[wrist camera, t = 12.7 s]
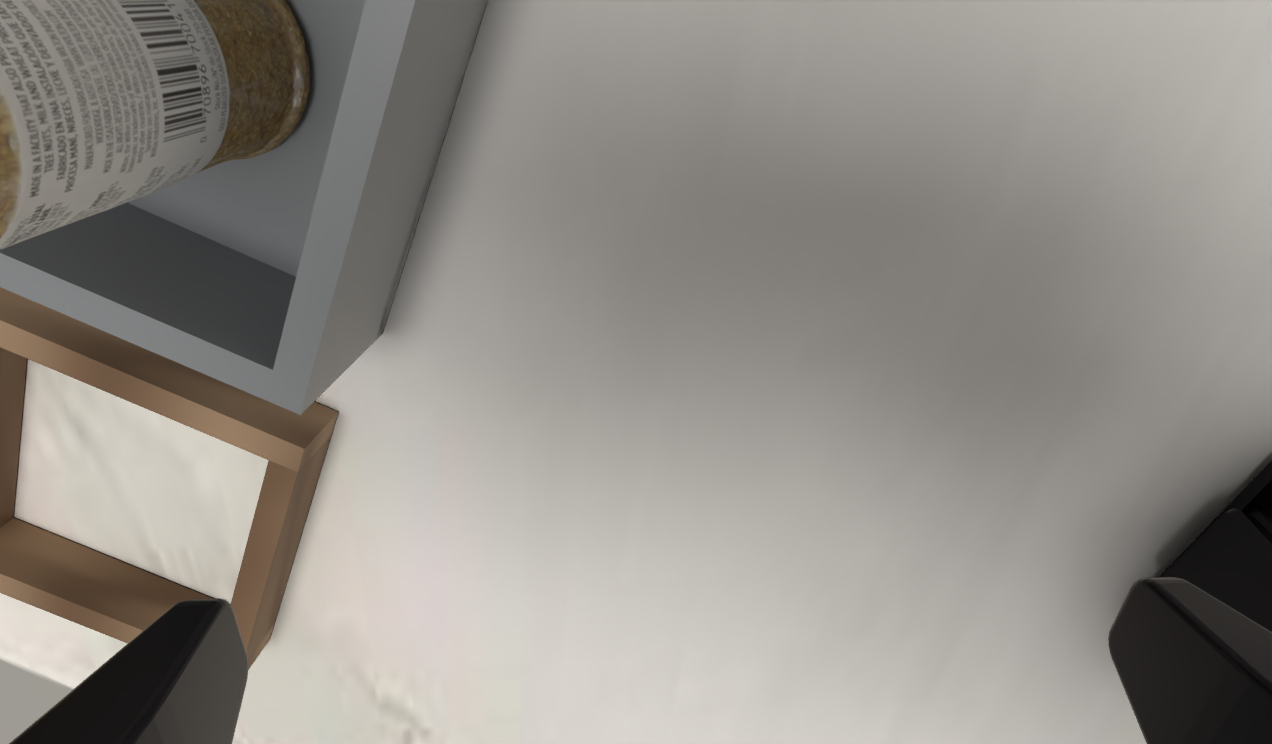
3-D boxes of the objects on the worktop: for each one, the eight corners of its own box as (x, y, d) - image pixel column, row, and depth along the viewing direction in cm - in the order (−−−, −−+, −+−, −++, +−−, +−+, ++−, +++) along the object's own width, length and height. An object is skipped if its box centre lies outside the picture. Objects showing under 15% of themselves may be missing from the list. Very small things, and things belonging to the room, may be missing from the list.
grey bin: (515, -89, 17) (445, -109, 13) (382, 333, 22) (300, 415, 18) (20, -330, 16) (-217, -431, 12) (-8, 162, 21) (-187, 207, 17)
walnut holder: (338, 412, 23) (304, 448, 21) (269, 639, 27) (236, 686, 25) (5, 269, 22) (-60, 294, 20) (-13, 526, 26) (-68, 566, 25)
